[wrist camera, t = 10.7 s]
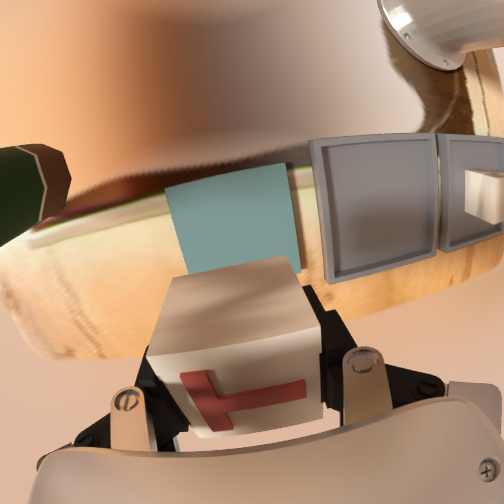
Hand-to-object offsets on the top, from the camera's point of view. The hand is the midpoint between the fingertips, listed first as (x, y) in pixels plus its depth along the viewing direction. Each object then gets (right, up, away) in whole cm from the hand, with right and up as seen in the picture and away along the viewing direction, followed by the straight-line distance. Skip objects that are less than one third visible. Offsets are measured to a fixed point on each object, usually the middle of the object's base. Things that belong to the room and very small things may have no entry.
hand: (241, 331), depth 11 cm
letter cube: (0, 0, +1) cm, 1 cm away
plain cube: (+27, +11, +12) cm, 32 cm away
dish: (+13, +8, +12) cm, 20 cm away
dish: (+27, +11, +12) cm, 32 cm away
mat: (-1, +5, +12) cm, 14 cm away
